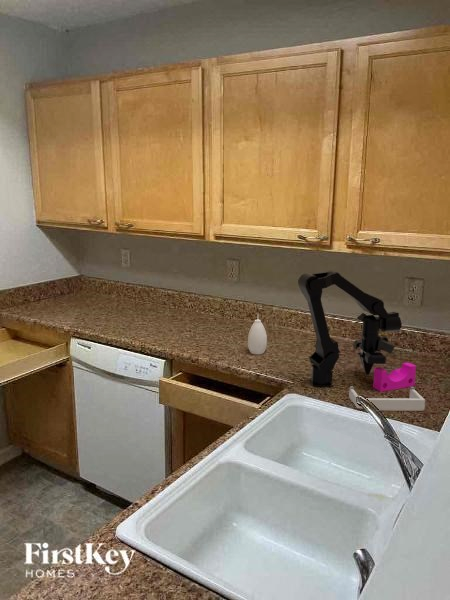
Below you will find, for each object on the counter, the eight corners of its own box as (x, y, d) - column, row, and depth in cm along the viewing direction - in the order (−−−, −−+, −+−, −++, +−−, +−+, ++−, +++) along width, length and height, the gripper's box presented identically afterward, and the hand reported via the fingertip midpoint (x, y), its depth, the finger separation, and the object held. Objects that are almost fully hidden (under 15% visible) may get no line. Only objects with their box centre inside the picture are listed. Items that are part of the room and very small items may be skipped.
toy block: (401, 379, 169) (403, 360, 167) (414, 386, 163) (416, 365, 162) (368, 385, 163) (369, 365, 162) (380, 392, 157) (382, 371, 156)
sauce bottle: (250, 351, 198) (251, 310, 194) (268, 354, 195) (269, 312, 192) (245, 357, 191) (245, 314, 187) (263, 359, 188) (264, 316, 185)
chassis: (356, 410, 143) (357, 397, 142) (348, 398, 152) (349, 386, 151) (424, 410, 143) (425, 398, 143) (412, 398, 152) (413, 386, 152)
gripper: (403, 340, 154) (399, 384, 157) (384, 325, 172) (381, 365, 176) (369, 340, 154) (366, 384, 157) (354, 325, 172) (351, 365, 176)
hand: (367, 374), depth 166 cm, fingers closed
